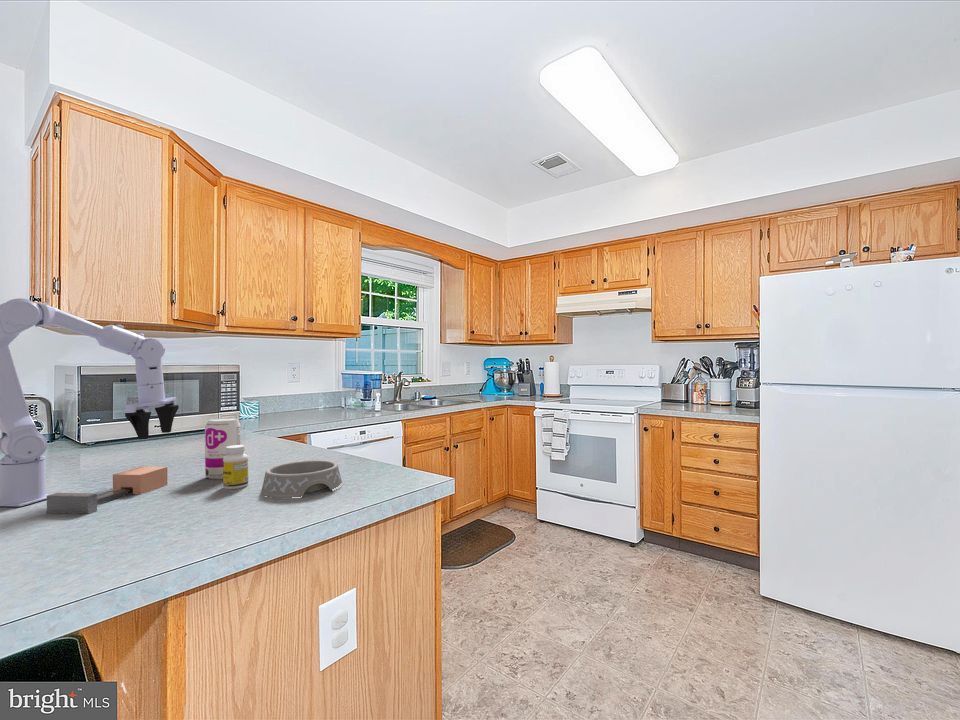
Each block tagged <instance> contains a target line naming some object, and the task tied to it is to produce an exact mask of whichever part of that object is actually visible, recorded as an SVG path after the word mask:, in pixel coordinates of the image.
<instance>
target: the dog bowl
mask: <svg viewBox="0 0 960 720" xmlns="http://www.w3.org/2000/svg"><path fill="white" fill-rule="evenodd" d="M341 483H343V481H342V476H341V472H340V469H339V464H338V463H337V462H335V461H331V460H325V459H324V460H323V459H322V460H319V459H315V460H313V459H312V460H298V461H292V462H285V463H280V464H277V465H273V466H270V467H269V468H267V469H266V471H265V473H264V478H263V482H262V486H261V490H260V495H261V494H262V495H264V496H267V497H266V498H268V497H272V498H271V499H273V498H292V497H301V496H303V497H304V495H305V493H313V492H315V491H316V490H317V491H321V490H323V488H324V489H326V488H329V489H330V491H331V490H332V489H334V488H336V487H338V486H339V485H340V484H341ZM325 487H326V488H325ZM320 489H321V490H320ZM317 491H316V492H317ZM262 495H261V496H262ZM264 496H263V497H264Z"/></svg>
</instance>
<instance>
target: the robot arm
mask: <svg viewBox="0 0 960 720" xmlns="http://www.w3.org/2000/svg"><path fill="white" fill-rule="evenodd" d="M52 326H53V327H58V328H61V329H65V330H68V331H71V332H74V333H77V334H80V335H84V336H86V337H90V338H93V339H94V340H96V341H97V344H98V345H99V346H100V347H103V348H106V349H109V350H111V351H114V352H118V353H121V354H124V355H127V356H131V357H132V358H133V359H134V361H135V378H136V388H137V399H138V400H137V401H138V402H137V401H136V402H134V403H130V404H125V405H124V407H125V408H124V410H125V413H124V417H125V418H126V419H127V420H128V421H129V423H130V424H131V425H132V428H133V429H134V431H135V433H136V436H137V439H138V440H148V439H149V437H150V436H149V435H150V434H149V433H150V431H149V429H150V427H149V423H150V418H151V415H152V412H151V411H147V410H152V409H154V410H155V412H156V415H157V417H158V420H159V427H160V430H161V433H162V434H163V433H165V434H168V433H171V432H172V427H173V423H174V418H175V416H176V414H177V412H178V410H179V406H180V405H179V404H177V397H176V396H174V397H173V396H172V397H171V396H169V397H166V393H165V384H164V383H165V382H164V381H165V380H164V369H163V362H162V357H164V355H165V353H166V348H164V346H163V344H162V343H161V342H160V341H159V340H158V339H155V338H145V334H144V333H141V332H139V333H135V332H133V331H130V330H127V329H125V328H124V325H122V324H116V325H114V324H109V325H105V326H101V325H99V324H96V323H94V322H91V321H88V320H86V319H84V318H82V317H79V316H76V315H74V314H71V313H69V312H66V311H64V310H62V309H59V308H57V307H53V306H51V305H48V304H44V303H40V302H37V303H36V302H34V301H32V300H30V299H27V298H12V299H10V300H7V301H6V302H3V303H1V304H0V433H1V434H0V435H1V436H0V452H2V453H3V456H2V458H1V459H0V507H16V508H17V507H23V506H27V505H30V504H34V503H38V502H41V501H45V500H47V495H51V494H52V493H47V479H46V477H47V476H46V475H47V469H46V467H47V463H46V461H47V460H46V459H47V457H46V455H44V454H45V452H46V450H47V448H48V440H47V438H46V437H45V436H44V435H43V434H42V433H40V432H39V431H38V428H37V425H36V424H35V422H34V420H33V417H32V416H31V415H30V411H29V407H28V404H27V401H26V399H25V395H24V392H23V389H22V385H21V383H20V378H19V376H18V373H17V372H18V371H17V369H16V366H15V363H14V360H13V359H14V358H13V357H12V353H11V350H10V348H9V346H10V344H11V343H12V342H13V341H14V340H15V339H16V338H17V337H18V336H19V335H20V334H21V333H23V332H24V331H26V330H29V329H30V328H32V327H52Z"/></svg>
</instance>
